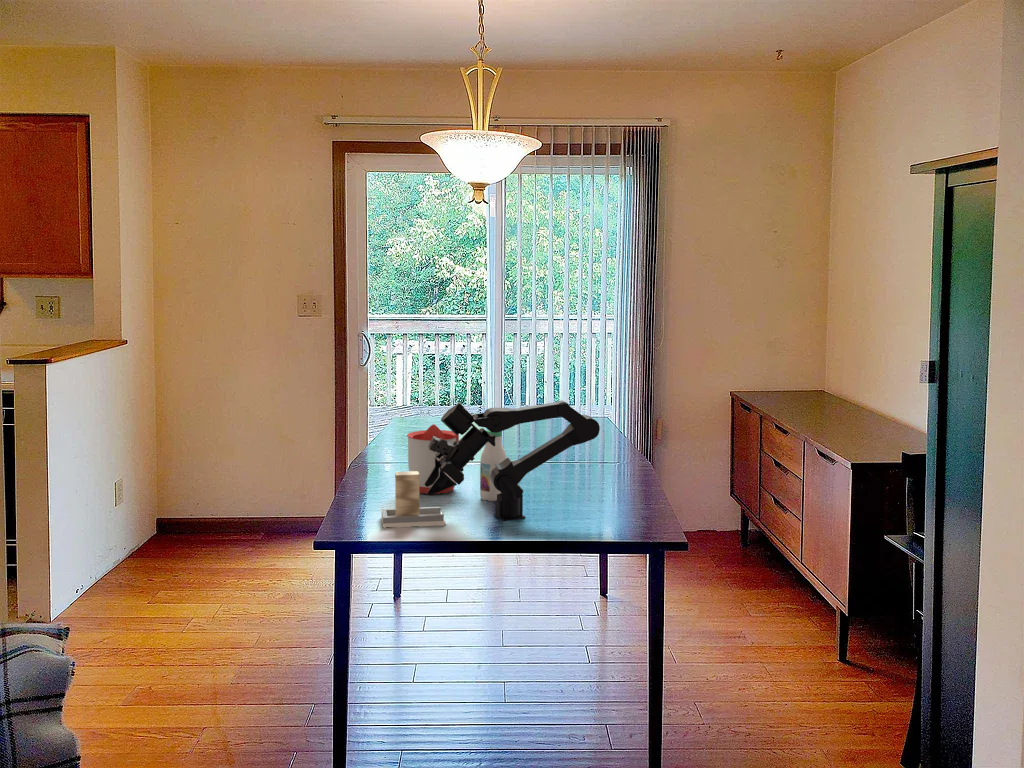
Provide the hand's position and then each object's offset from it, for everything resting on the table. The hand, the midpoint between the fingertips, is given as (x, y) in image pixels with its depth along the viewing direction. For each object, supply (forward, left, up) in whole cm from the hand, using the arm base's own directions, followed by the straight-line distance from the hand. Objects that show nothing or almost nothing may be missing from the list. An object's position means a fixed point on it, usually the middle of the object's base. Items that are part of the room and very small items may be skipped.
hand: (427, 489), depth 248 cm
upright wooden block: (+5, -1, -7) cm, 9 cm away
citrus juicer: (-15, -29, -9) cm, 34 cm away
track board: (+4, -1, -8) cm, 9 cm away
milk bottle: (-26, -13, -9) cm, 31 cm away
